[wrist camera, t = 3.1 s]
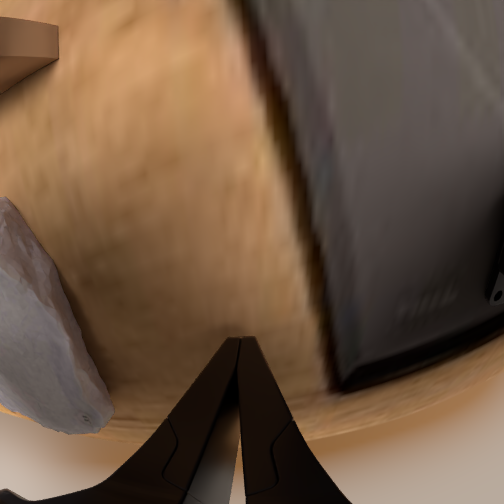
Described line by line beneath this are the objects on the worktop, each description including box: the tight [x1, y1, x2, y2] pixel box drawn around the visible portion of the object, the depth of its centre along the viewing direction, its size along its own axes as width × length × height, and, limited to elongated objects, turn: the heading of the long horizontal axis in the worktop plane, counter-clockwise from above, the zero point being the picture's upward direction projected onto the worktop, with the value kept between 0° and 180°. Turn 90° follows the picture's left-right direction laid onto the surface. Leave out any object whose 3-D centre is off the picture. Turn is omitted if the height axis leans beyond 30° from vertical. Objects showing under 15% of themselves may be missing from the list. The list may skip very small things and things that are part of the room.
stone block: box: [0, 197, 115, 434], centre depth 10 cm, size 12×5×10 cm
